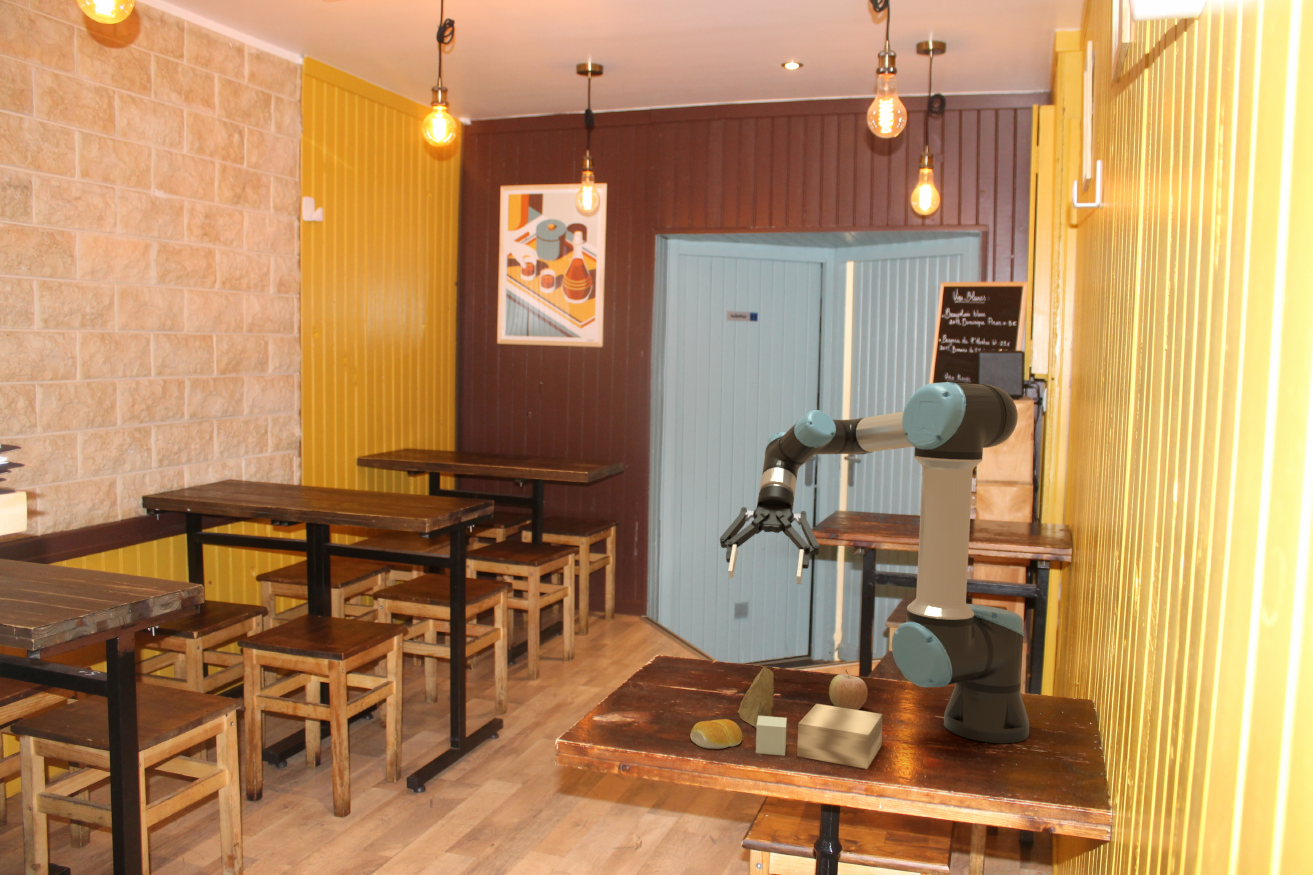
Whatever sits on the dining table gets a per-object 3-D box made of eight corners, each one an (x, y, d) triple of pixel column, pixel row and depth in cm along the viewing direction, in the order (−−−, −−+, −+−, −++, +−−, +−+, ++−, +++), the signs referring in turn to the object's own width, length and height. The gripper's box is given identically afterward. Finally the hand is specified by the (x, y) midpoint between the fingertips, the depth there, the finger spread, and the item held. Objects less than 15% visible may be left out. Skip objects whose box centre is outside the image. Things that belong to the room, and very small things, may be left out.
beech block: (881, 747, 172) (882, 713, 172) (867, 770, 161) (868, 734, 161) (815, 735, 177) (816, 703, 177) (797, 757, 166) (798, 723, 166)
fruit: (821, 710, 191) (823, 670, 190) (836, 701, 197) (838, 662, 196) (858, 718, 186) (860, 677, 186) (872, 708, 193) (874, 669, 192)
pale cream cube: (785, 745, 171) (786, 717, 171) (784, 755, 166) (785, 727, 166) (757, 743, 172) (758, 715, 172) (755, 753, 167) (756, 724, 167)
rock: (784, 723, 176) (794, 699, 185) (756, 684, 176) (767, 663, 185) (738, 750, 179) (750, 725, 189) (711, 712, 180) (724, 689, 189)
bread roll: (750, 744, 171) (751, 722, 171) (709, 753, 166) (710, 730, 166) (722, 730, 178) (723, 708, 178) (682, 738, 173) (683, 716, 173)
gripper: (836, 509, 206) (828, 593, 192) (720, 502, 212) (704, 582, 198) (835, 486, 200) (827, 571, 187) (717, 480, 206) (700, 561, 193)
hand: (764, 577), depth 192 cm, fingers open, 13 cm apart
